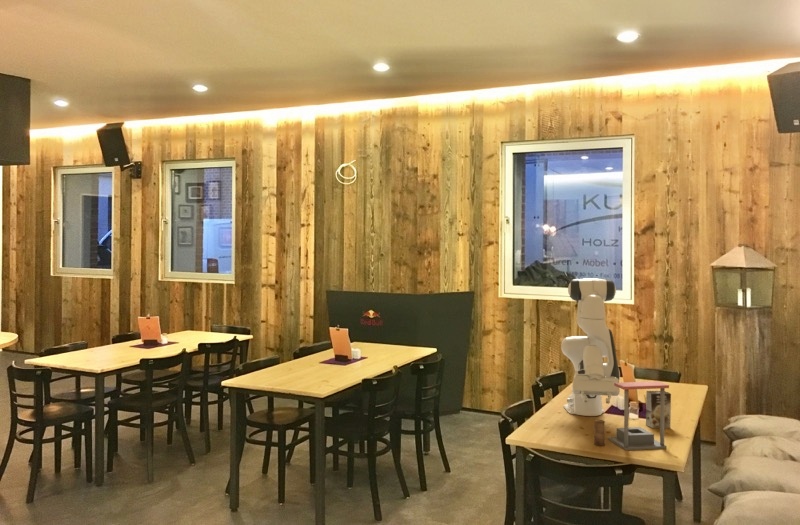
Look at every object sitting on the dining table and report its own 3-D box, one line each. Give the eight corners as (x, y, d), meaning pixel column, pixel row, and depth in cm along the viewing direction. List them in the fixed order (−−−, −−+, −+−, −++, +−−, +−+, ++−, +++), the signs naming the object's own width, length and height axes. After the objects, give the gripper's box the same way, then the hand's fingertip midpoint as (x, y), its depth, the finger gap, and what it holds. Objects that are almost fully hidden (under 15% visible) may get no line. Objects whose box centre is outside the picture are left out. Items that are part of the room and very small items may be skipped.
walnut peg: (592, 443, 260) (592, 419, 260) (601, 442, 261) (601, 419, 261) (597, 446, 257) (597, 422, 256) (606, 445, 257) (606, 422, 257)
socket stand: (605, 439, 266) (605, 379, 266) (648, 437, 269) (648, 377, 269) (623, 450, 251) (623, 386, 250) (668, 448, 254) (669, 385, 253)
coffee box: (651, 428, 283) (651, 393, 283) (645, 424, 289) (645, 390, 289) (671, 428, 283) (671, 393, 283) (664, 424, 290) (664, 390, 289)
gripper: (617, 380, 279) (620, 407, 269) (571, 378, 283) (572, 404, 273) (619, 372, 274) (622, 399, 265) (571, 370, 278) (573, 397, 269)
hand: (596, 402), depth 269 cm, fingers open, 8 cm apart
